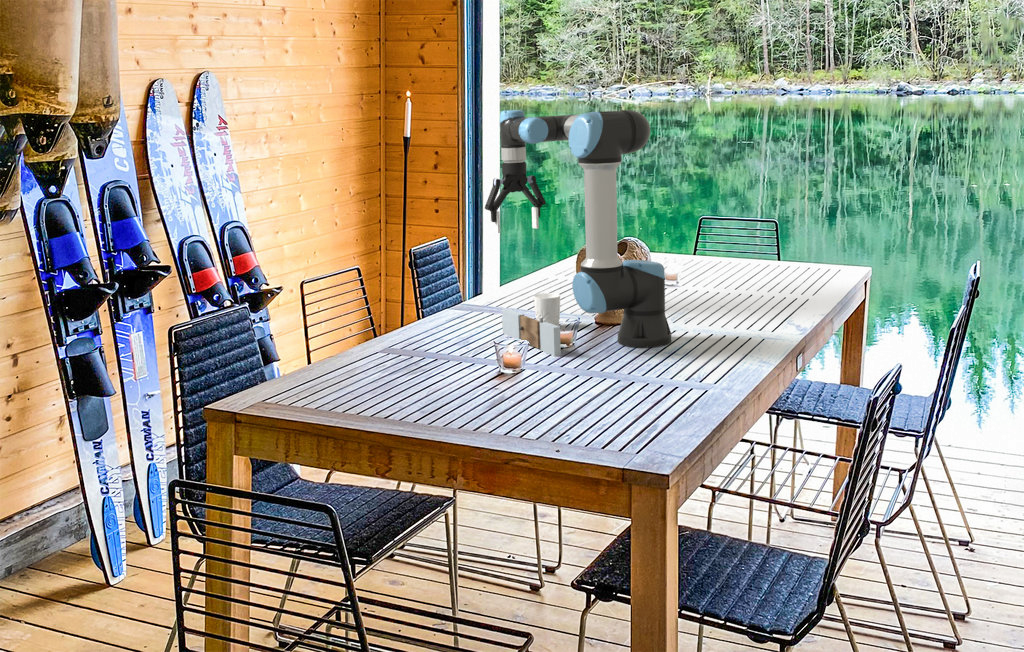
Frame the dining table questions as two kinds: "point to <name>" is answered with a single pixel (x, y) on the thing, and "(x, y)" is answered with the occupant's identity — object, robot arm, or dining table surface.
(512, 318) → the wall frame
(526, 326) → the door
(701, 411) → the dining table surface
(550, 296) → the white cup
